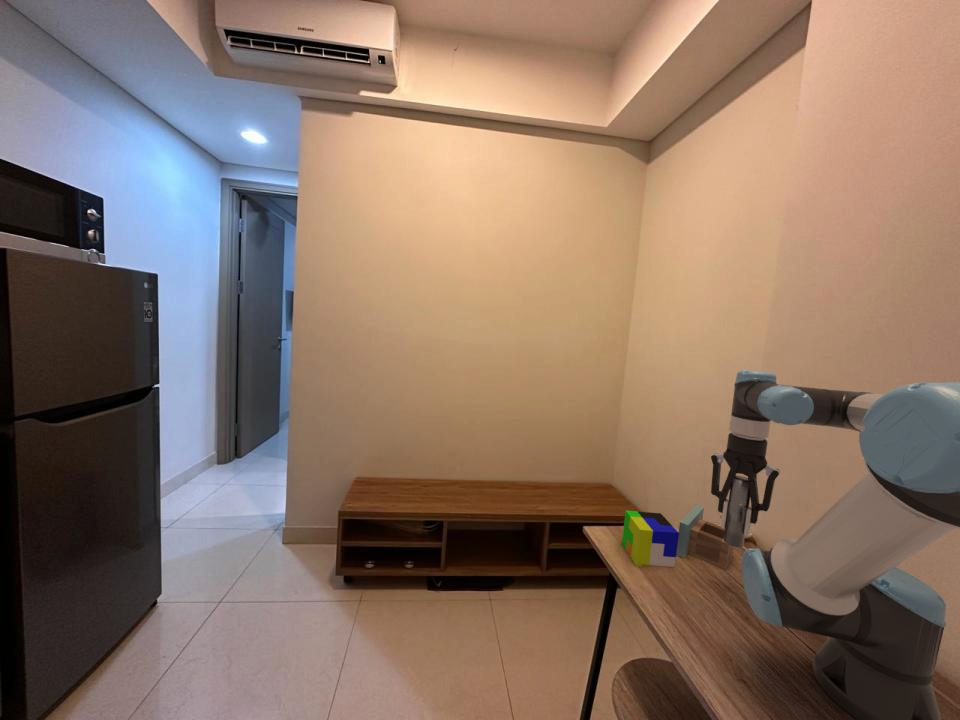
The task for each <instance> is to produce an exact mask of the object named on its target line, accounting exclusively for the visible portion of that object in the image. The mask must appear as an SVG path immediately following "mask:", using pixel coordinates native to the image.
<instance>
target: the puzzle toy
mask: <svg viewBox="0 0 960 720" xmlns="http://www.w3.org/2000/svg"><path fill="white" fill-rule="evenodd" d="M623 521H624V522H623V531H622V539H621V540H622V541H621V544H622V546H623V548H624V547H625V548H624V549H625V551H626V550H627V551H626V552H627V554H628V555H630V556H629V557H630V559H631V558H632V559H631V560H633V561H632V562H633V564H634V563H635V564H634V565H635V567H642V566H647V565H648V566H657V567H659V566H660V567H671V568H675V567H676V559H677V555H676V552H677V544H678V537H679V530H677V529H676V528H675V527H674V526H673V524H671V523H670V522H669V521H668V520H667V519H666V517H665V516H664V515H663V514H662V513H661V512H660V513H659V512H647V511H635V510H625V512H624V520H623Z"/></svg>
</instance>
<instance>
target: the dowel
mask: <svg viewBox="0 0 960 720" xmlns="http://www.w3.org/2000/svg"><path fill="white" fill-rule="evenodd" d="M728 495H729V496H728V499H729V502H728V510H727V517H726V525H725V532H724V541H725V542H726V543H727V544H729V545H731V546H734V548H743V547H744V544H745V539H746V536H744V530H745V523H746V515H747V509H748V508H749V506H750V503H751V498H750V489H749V481H748V477H747V476H744V475H743V476H741V475H737V474H736V476H735V477H734V478H733V480H732V483H731V487H730V490H729V494H728Z"/></svg>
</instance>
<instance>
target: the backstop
mask: <svg viewBox="0 0 960 720" xmlns="http://www.w3.org/2000/svg"><path fill="white" fill-rule="evenodd" d="M704 511H705V507H704V506H701V505H698V504H696V505H695V506H694V507H693V508H692V509H691V510H690V511H688V513H687V514H686V515H685V516H684V518H682V519H681V520H680V521H679V527H678V532H679V537H678V544H677V552H676V557H680V558H682V559H684V558H685V557H686V556H687V554H688V547H689V539H690V531H691V528H692V527H693V526H694V525H695V524H696V523H697V521H698V520H699V519H702V520H704V519H703V518H704Z"/></svg>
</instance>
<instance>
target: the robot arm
mask: <svg viewBox="0 0 960 720" xmlns="http://www.w3.org/2000/svg"><path fill="white" fill-rule="evenodd" d="M777 383H778V382H777V375H776V374H775V373H773V372H769V371H761V370H751V369H741V370H739V371H738V372H737V373H736V378H735V382H734V384H733V386H734V390H733V399H732V406H731V414H730V421H729V428H728V430H729V431H730V432H729V433H728V436H727V437H728V438H727V443H726V449H725V451H724V452H723V453H721V454H720V453H719V454H718V453H713V454H712V455H711V456H710V460H711V461H712V475H711V476H712V477H711V489H710V493H711V495H713V496H715V497H717V498H718V504H717V505H718V506H717V511H718V513H722V515H721V522H720V526H721V528H725V525H726V517H727V510H728V502H729V498H727V497H728V495H729V494H730V487H731V483H732V480H733V478H734V477H735V476H736V475H737V474H738V475H739V474H741V475H743V476H745V477H747V478H748V481H749V489H750V504H751V505H749V508H748V509H747V515H746V523H745V530H744V536H745V538H748V537H749V535H750V534H751V533H750V531H751V527H752V526H751V525H752V524H754V525H756V523H757V522H758V519H759V512H760V511H761V512H768V510H769V509H770V506H771V503H772V502H771V500H772V496H773V491H774V486H775V483H776V482H775V481H776V479H777V478H778V476H779V475H780V473H781V471H780V469H779V468H774V466H773V467H772V466H770V465H769V464H768V461H767V459H766V456H767V450H768V449H767V448H768V440H767V439H768V437H769V436H770V435H769V434H770V426H771V421H772V422H773V423H776V424H782V425H785V426H797V425H812V426H821V427H832V428H837V429H838V428H839V429H840V428H841V429H846V430H852V431H855V432H859V434H858V435H859V436H858V442H859V447H860V452H861V455H862V457H863V461H864V462H863V463H864V466H865V469H866V471H867V472H865V473H864V474H863V475H862V477H860V478H859V479H858V480H857V481H856V483H854V484H853V485H852V486H851V487H850V488H848V489H847V491H846V492H845V493H844V494H843V495H841V497H840V498H838V500H836V502H835V503H834V504H833V505H832V506H830V507H829V509H827V510H826V511H825V512H824V513H823V514H822V515H821V516H820V517H819V518H818V519H817V520H816V521H815V522H814V523H813V524H812V525H811V526H809V528H808V529H807V530H805V532H804V533H803V534H801V535H800V537H799V538H785V539H782V540H780V541H778V542H776V543H775V544H774V546H772V548H770V549H769V550H763V549H760V548H759V547H756V548H750V547H749V548H747V549H745V551H744V552H743V555H742V558H741V575H742V576H741V577H742V583H743V588H744V593H745V595H746V598H747V602H748V604H749V606H750V609H751V611H753V613H754V614H755V616H756V617H757V618H759V620H760V621H761V622H764V623H767V624H771V625H774V626H777V627H779V628H783V627H784V628H788V629H792V630H796V631H800V632H805V633H810V634H815V635H819V636H824V637H828V638H827V639H826V641H824V643H823V644H822V645H821V646H820V648H819V649H818V650H816V652H815V654H814V657H813V663H812V672H813V676H814V678H815V680H816V682H817V684H819V686H820V687H821V688H822V690H823V691H824V692H825V693H826V694H827V695H828V696H829V697H830V699H832V700H833V702H835V703H836V704H837V705H838V706H839V707H841V709H843V710H844V711H845V712H847V713H848V714H849V715H851V716H852V717H854V718H855V719H856V720H943V719H942V716H941V713H940V709H939V706H938V701H937V697H936V694H935V691H934V686H933V680H934V679H933V678H934V675H935V671H936V665H937V660H938V657H939V656H938V655H939V651H940V648H941V642H942V638H943V634H944V631H945V630H944V629H945V628H946V627H947V623H946V611H947V604H946V602H945V600H944V598H943V597H942V596H941V595H940V593H938V591H936V590H935V589H934V588H933V587H931V586H930V585H929V584H927V583H925V582H924V581H923V580H921V579H919V578H918V577H916V576H914V575H913V574H911V573H909V572H907V571H905V570H903V569H901V568H898V566H900V565H901V564H903V563H904V562H906V561H907V560H909V559H911V558H912V557H913V556H914V555H916V554H918V553H920V552H921V551H922V550H924V549H926V548H927V547H929V546H930V545H932V544H934V543H935V542H937V541H938V540H940V539H942V538H943V537H945V536H946V535H948V534H949V533H950V532H952V531H955V530H956V529H960V381H946V382H925V381H924V382H916V383H909V384H905V385H901V386H899V387H896V388H894V389H892V390H890V391H888V392H886V393H884V394H882V393H881V394H880V393H875V392H869V391H867V392H866V391H849V390H839V389H838V390H837V389H827V388H817V387H807V386H799V385H798V386H796V385H784V384H777ZM724 460H725V462H726V464H727V465H728V467H729V471H728V473H727V476H726V478H725V481H724V484H723V487H722V488H721V490H720V481H721V473H722V472H721V468H722V463H723V462H724ZM764 470H765V475H766V476H767V479H766V483H765V490H764V494H763V498H762V503H760V498H759V489H758V481H757V480H758V478H757V477H758V474H759V473H761V472H762V471H764Z"/></svg>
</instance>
